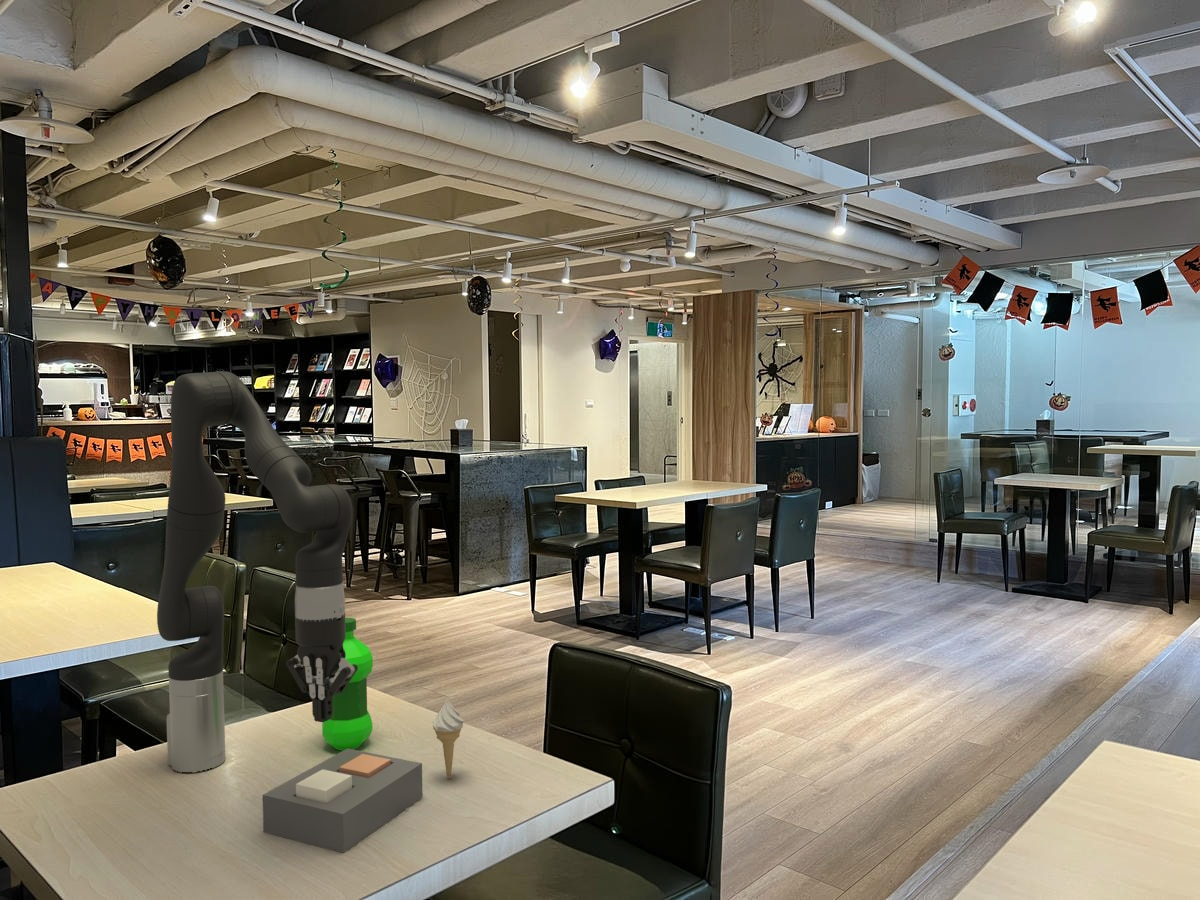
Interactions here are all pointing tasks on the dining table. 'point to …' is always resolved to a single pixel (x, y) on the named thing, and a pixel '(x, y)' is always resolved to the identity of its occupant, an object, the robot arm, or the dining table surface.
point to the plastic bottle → (351, 698)
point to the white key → (324, 786)
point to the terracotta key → (365, 765)
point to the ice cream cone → (448, 731)
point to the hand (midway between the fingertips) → (322, 720)
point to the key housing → (343, 804)
